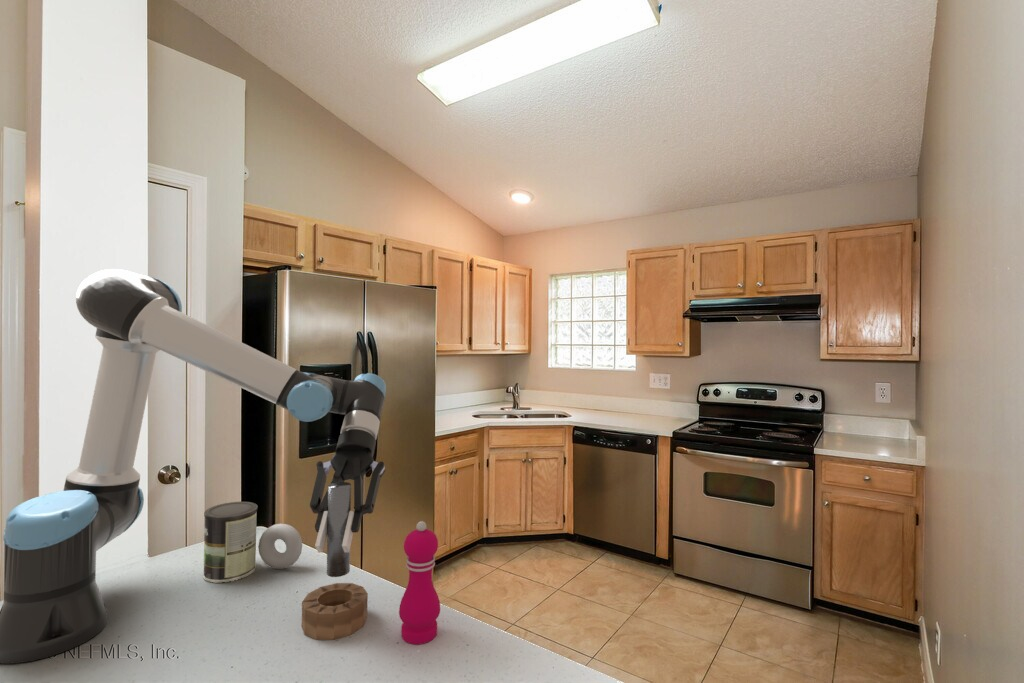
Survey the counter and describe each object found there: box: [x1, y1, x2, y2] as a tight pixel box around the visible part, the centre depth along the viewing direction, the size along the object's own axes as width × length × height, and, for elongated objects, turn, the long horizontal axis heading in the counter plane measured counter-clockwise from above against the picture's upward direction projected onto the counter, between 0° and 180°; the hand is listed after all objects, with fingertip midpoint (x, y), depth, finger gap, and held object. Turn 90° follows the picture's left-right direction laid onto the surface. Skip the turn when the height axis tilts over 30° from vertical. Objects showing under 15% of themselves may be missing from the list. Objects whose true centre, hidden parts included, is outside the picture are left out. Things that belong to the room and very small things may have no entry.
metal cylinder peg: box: [326, 481, 352, 578], centre depth 92 cm, size 4×4×16 cm
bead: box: [301, 582, 369, 641], centre depth 92 cm, size 11×11×4 cm
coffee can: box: [202, 501, 259, 584], centre depth 111 cm, size 10×10×14 cm
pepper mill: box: [398, 520, 441, 645], centre depth 89 cm, size 7×7×20 cm
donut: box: [258, 523, 303, 570], centre depth 113 cm, size 10×4×10 cm, turn 84°
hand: (332, 549), depth 88 cm, fingers closed on metal cylinder peg, 4 cm apart
